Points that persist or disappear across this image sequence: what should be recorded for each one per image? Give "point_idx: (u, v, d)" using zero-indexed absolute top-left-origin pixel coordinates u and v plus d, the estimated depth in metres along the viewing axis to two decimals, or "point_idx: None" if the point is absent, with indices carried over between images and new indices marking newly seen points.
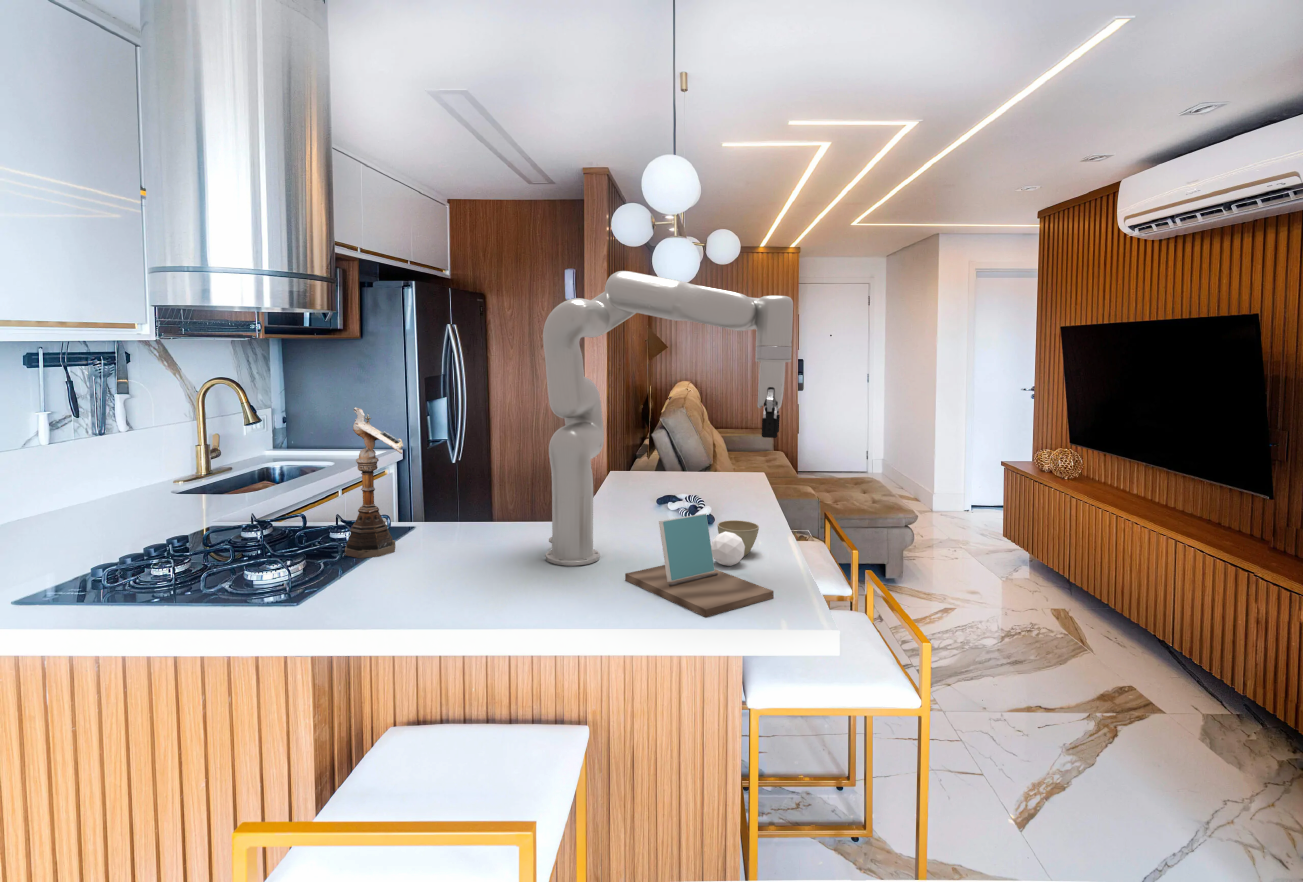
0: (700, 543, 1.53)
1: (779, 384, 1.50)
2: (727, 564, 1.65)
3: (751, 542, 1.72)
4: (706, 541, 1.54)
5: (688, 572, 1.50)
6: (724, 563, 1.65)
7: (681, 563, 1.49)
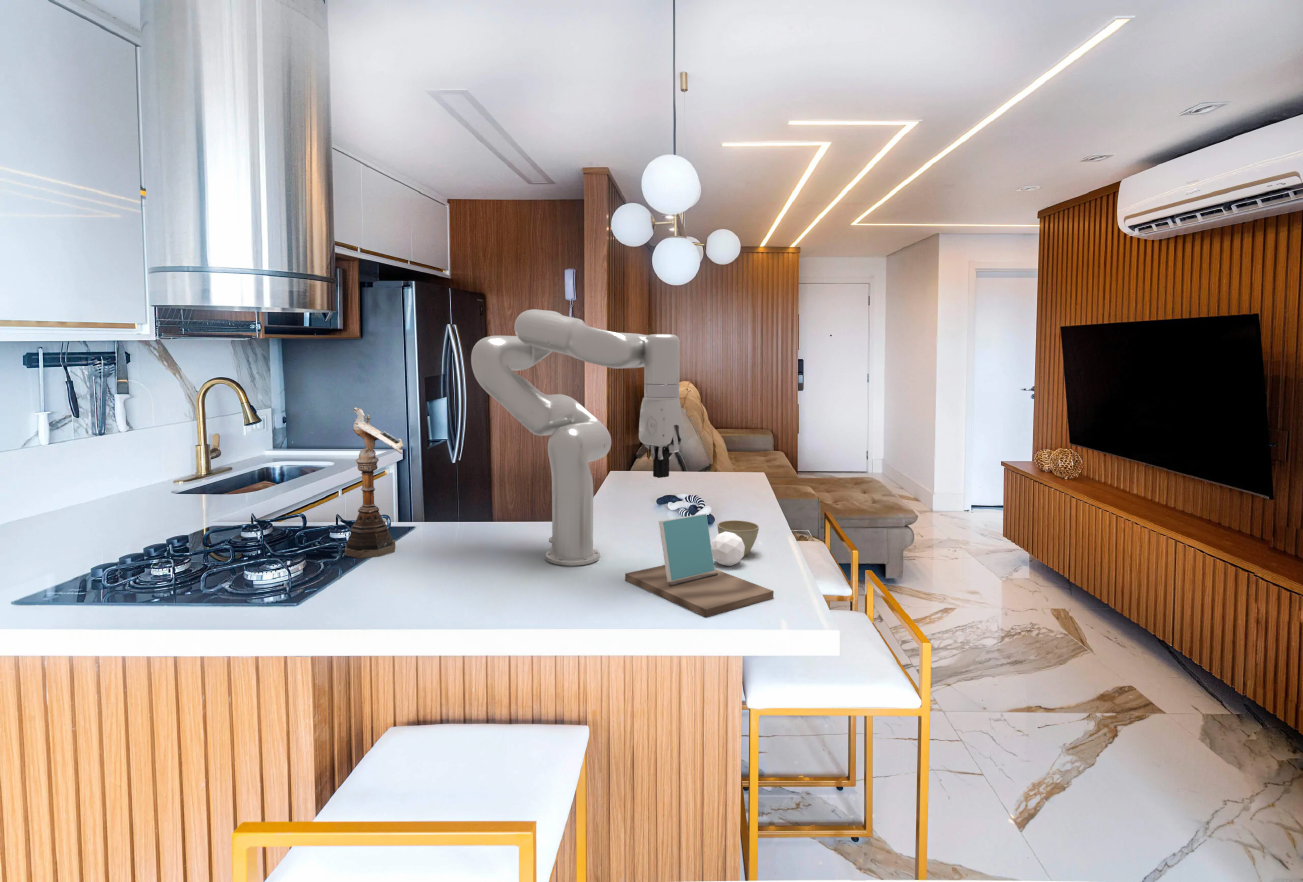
0: (700, 543, 1.53)
1: (681, 421, 1.53)
2: (727, 564, 1.65)
3: (751, 542, 1.72)
4: (706, 541, 1.54)
5: (688, 572, 1.50)
6: (724, 563, 1.65)
7: (681, 563, 1.49)
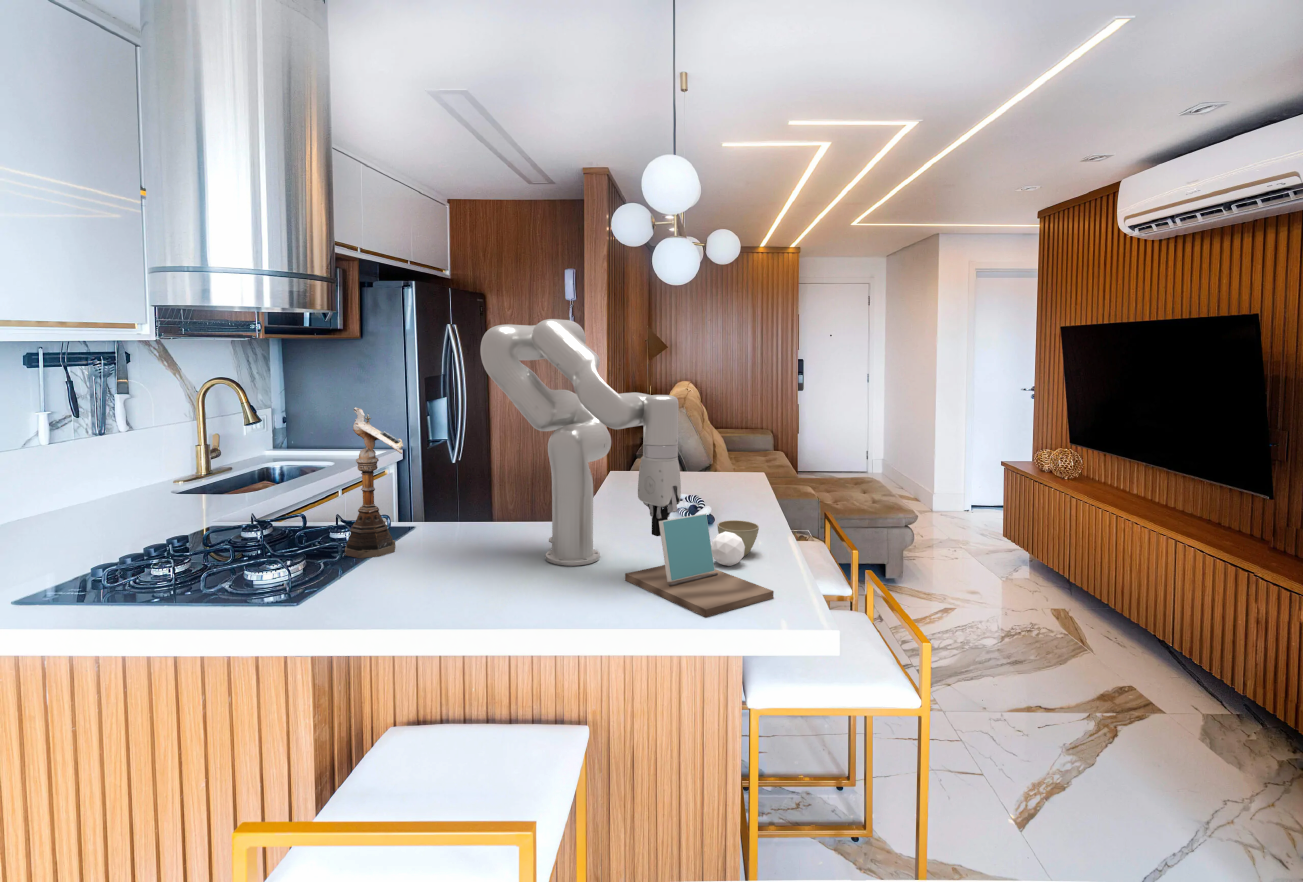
0: (700, 543, 1.53)
1: (680, 482, 1.55)
2: (727, 564, 1.65)
3: (751, 542, 1.72)
4: (706, 541, 1.54)
5: (688, 572, 1.50)
6: (724, 563, 1.65)
7: (681, 563, 1.49)
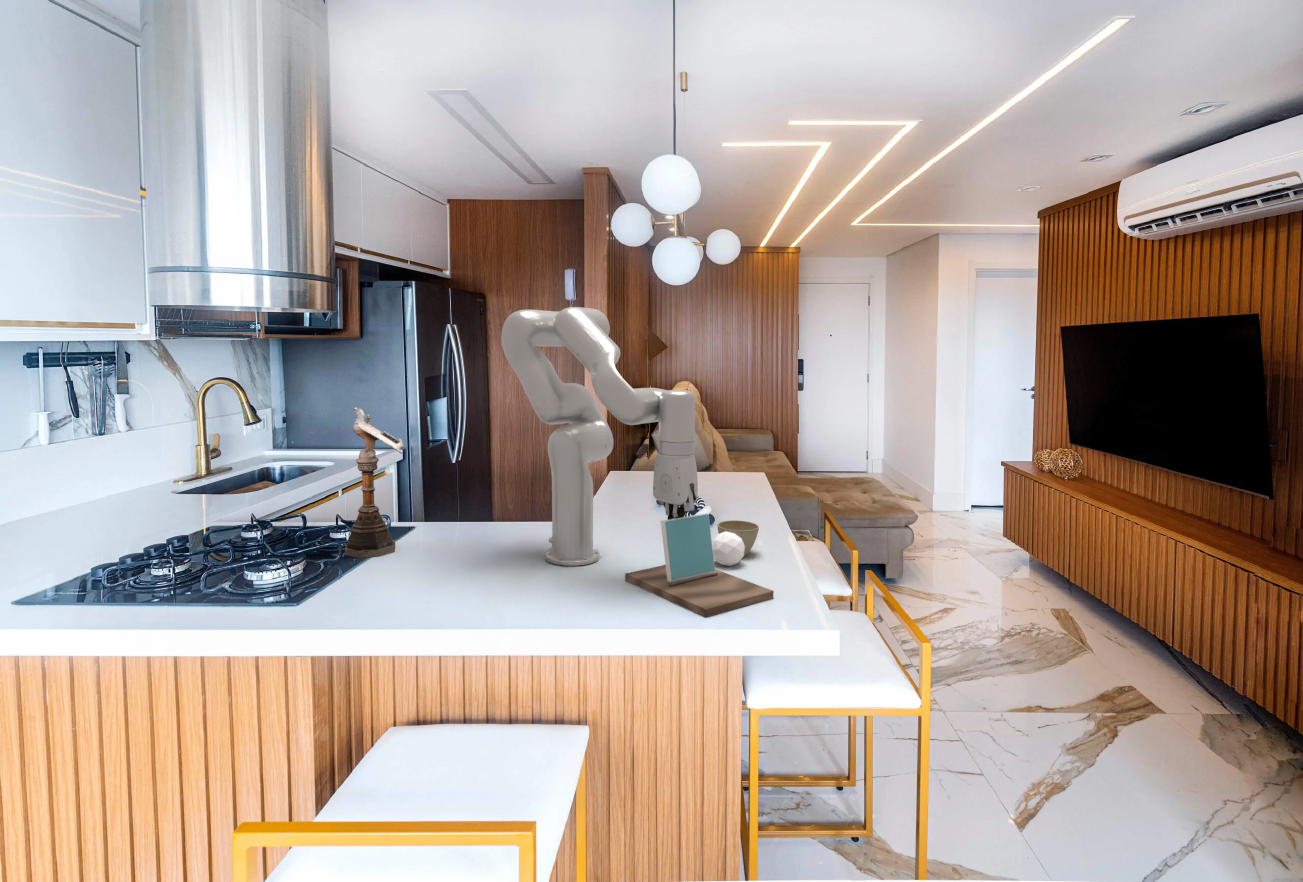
0: (701, 543, 1.52)
1: (697, 479, 1.50)
2: (727, 564, 1.65)
3: (751, 542, 1.72)
4: (707, 541, 1.53)
5: (688, 572, 1.50)
6: (724, 563, 1.65)
7: (682, 563, 1.49)
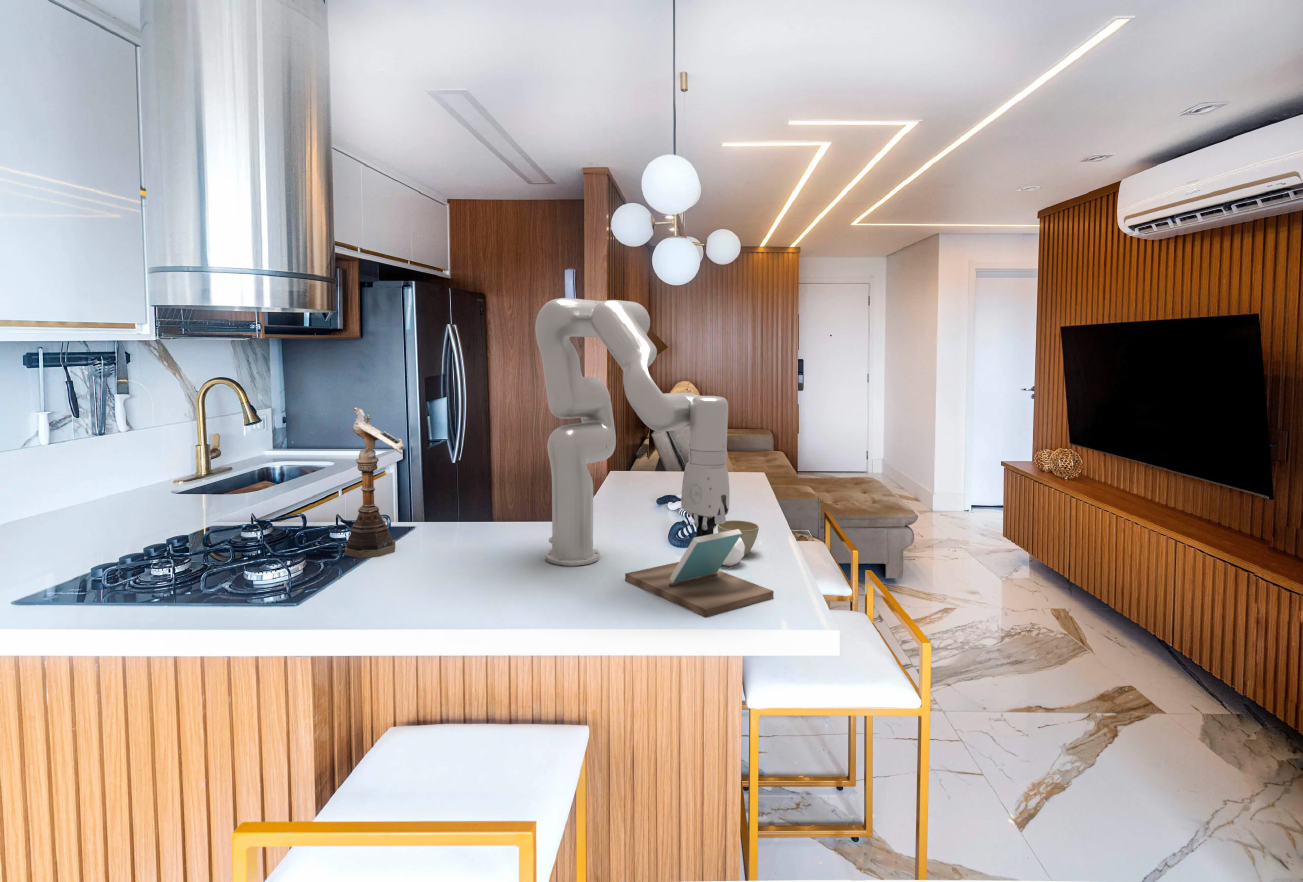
0: (718, 555, 1.48)
1: (728, 490, 1.43)
2: (727, 564, 1.65)
3: (751, 542, 1.72)
4: (725, 553, 1.49)
5: (692, 575, 1.49)
6: (724, 563, 1.65)
7: (691, 570, 1.47)
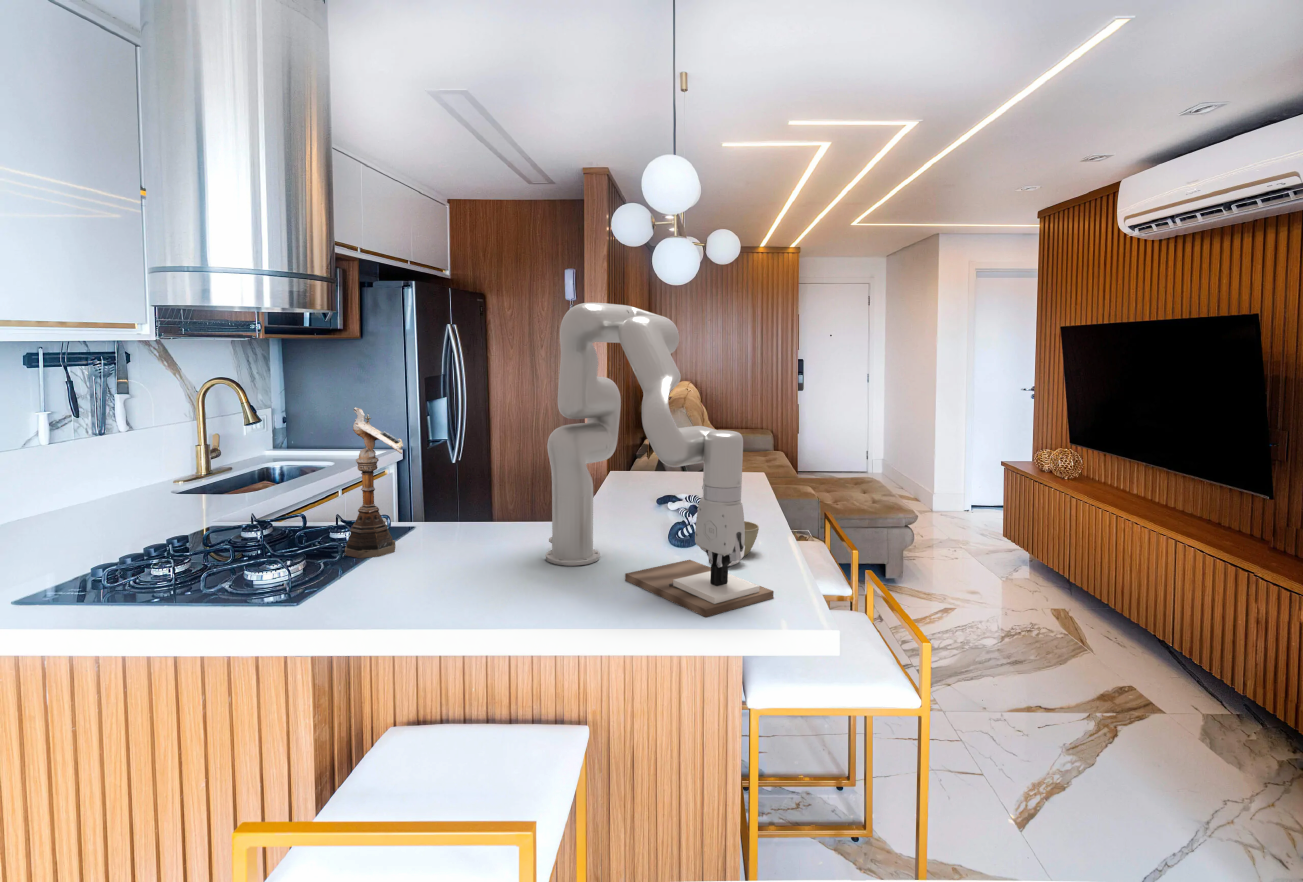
0: None
1: (744, 527, 1.40)
2: None
3: (751, 542, 1.72)
4: None
5: None
6: None
7: None
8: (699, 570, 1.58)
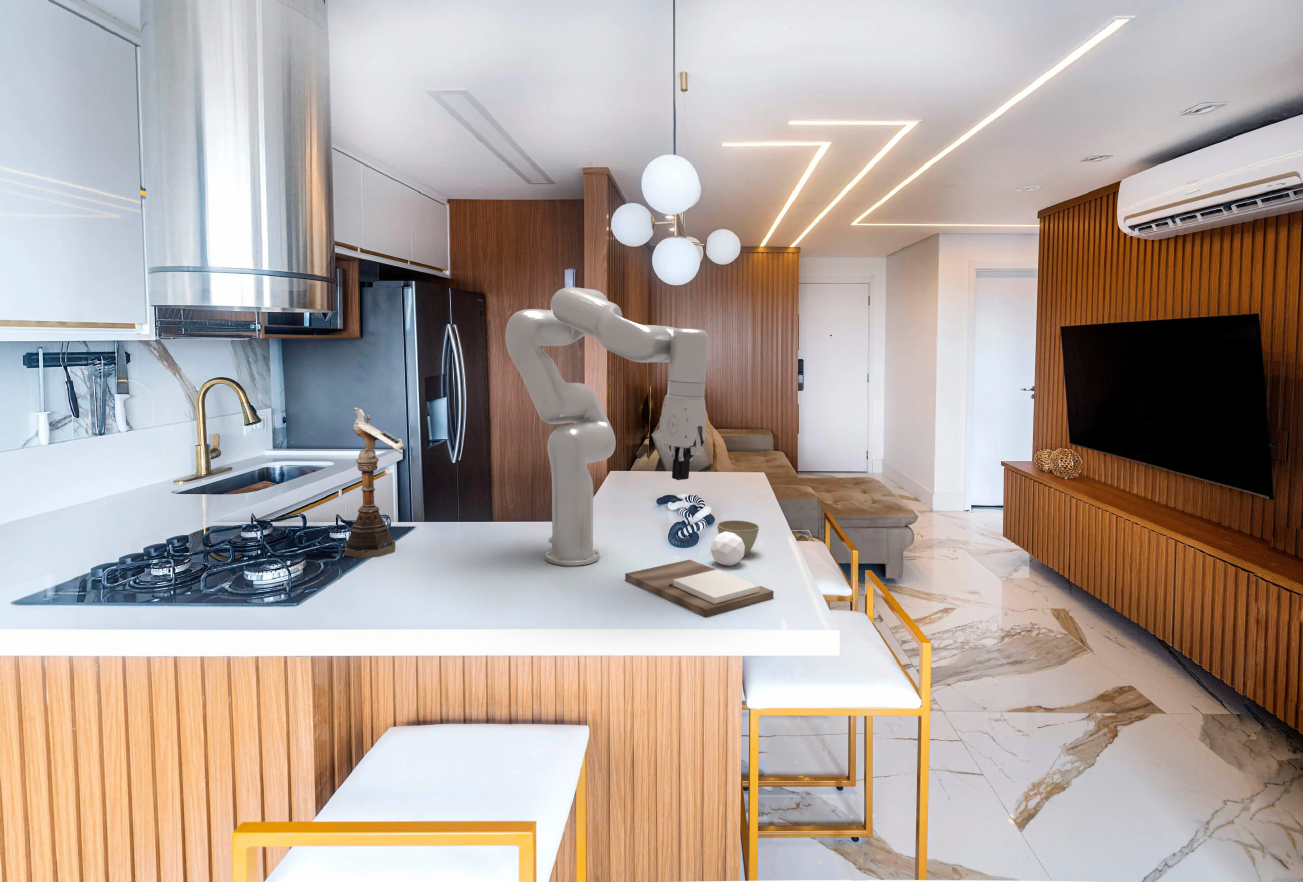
0: None
1: (705, 422, 1.45)
2: (727, 564, 1.65)
3: (751, 542, 1.72)
4: None
5: None
6: (724, 563, 1.65)
7: None
8: (699, 570, 1.58)
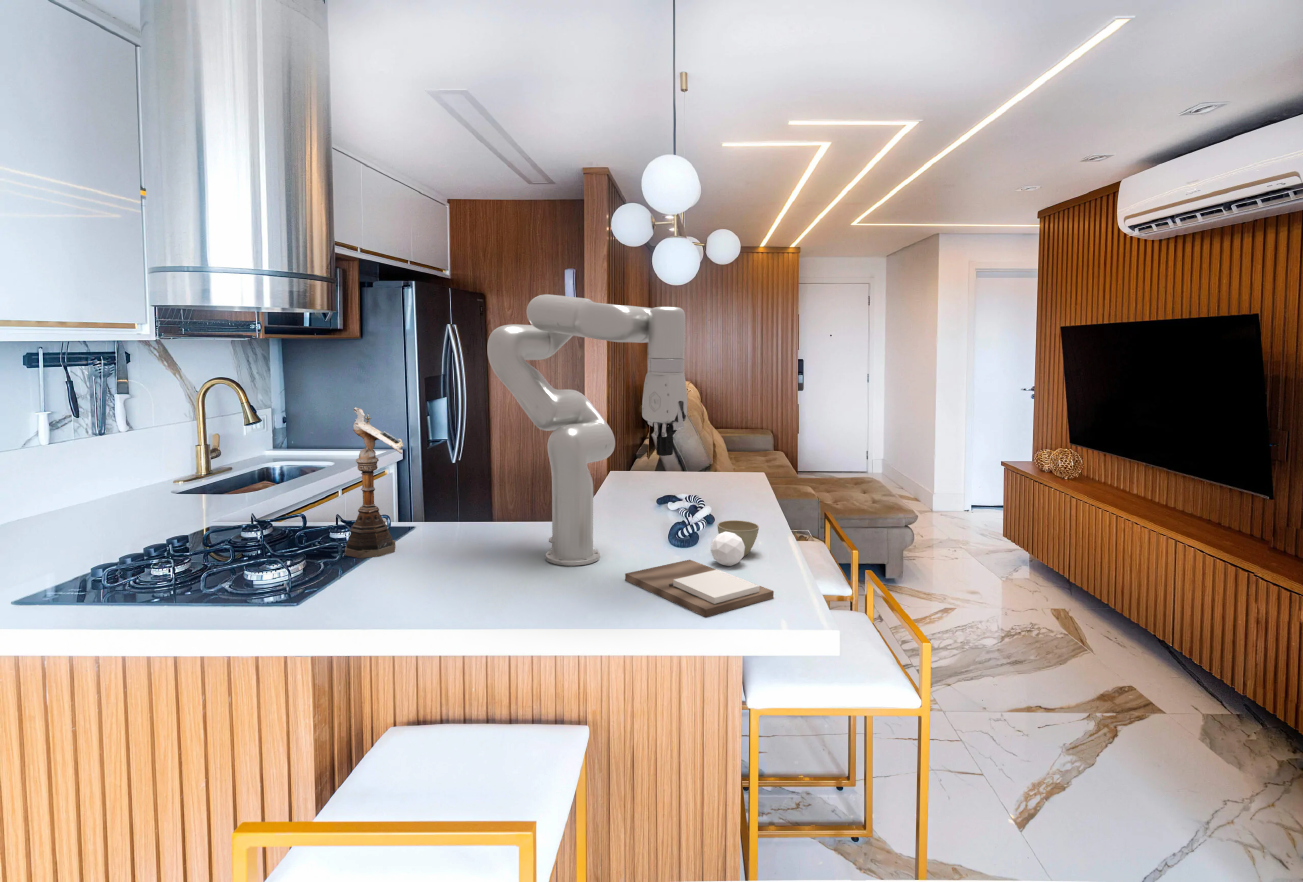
0: None
1: (686, 397, 1.48)
2: (727, 564, 1.65)
3: (751, 542, 1.72)
4: None
5: None
6: (724, 563, 1.65)
7: None
8: (699, 570, 1.58)
